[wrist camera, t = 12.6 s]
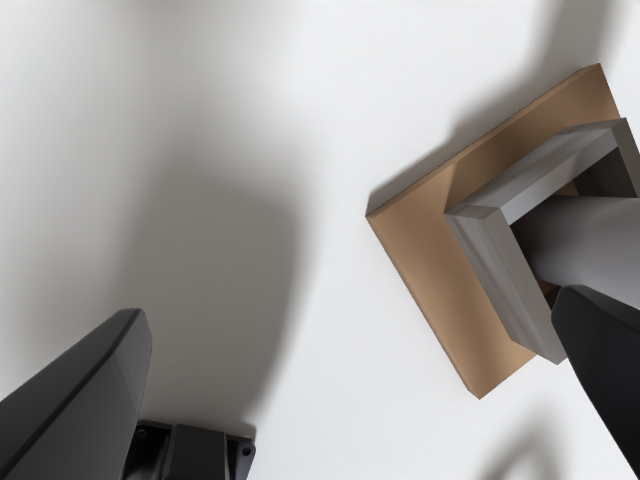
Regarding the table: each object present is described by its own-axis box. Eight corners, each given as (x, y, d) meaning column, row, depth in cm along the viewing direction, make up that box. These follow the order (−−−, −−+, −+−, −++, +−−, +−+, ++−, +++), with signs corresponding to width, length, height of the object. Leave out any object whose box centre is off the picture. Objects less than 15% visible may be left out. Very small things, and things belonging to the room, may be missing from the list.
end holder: (467, 390, 26) (521, 434, 21) (365, 217, 22) (402, 226, 18) (651, 246, 28) (736, 258, 23) (581, 68, 25) (664, 43, 20)
